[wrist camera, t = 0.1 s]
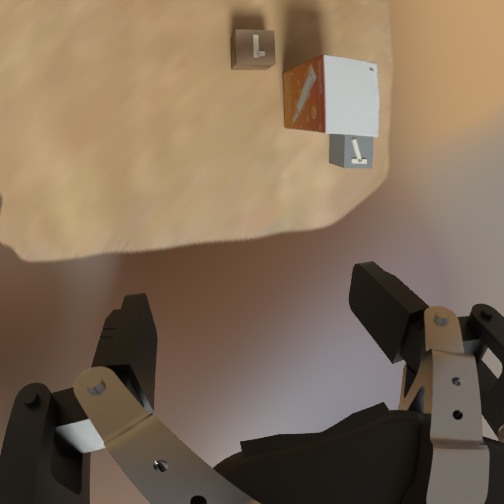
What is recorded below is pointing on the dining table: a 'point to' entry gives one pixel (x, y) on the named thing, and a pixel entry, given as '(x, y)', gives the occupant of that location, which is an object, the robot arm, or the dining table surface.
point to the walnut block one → (252, 49)
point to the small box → (332, 96)
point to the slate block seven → (351, 151)
